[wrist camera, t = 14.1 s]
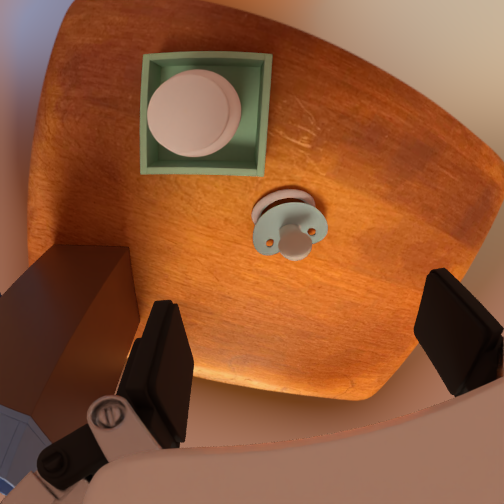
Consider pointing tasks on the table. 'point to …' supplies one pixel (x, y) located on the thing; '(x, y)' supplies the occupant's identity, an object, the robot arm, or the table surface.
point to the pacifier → (288, 225)
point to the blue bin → (60, 348)
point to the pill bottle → (194, 113)
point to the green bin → (251, 123)
